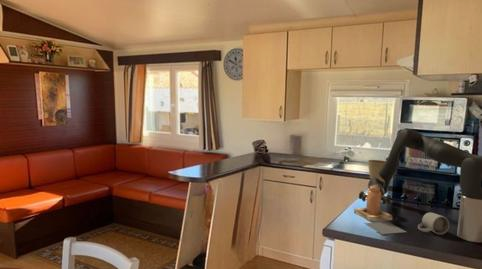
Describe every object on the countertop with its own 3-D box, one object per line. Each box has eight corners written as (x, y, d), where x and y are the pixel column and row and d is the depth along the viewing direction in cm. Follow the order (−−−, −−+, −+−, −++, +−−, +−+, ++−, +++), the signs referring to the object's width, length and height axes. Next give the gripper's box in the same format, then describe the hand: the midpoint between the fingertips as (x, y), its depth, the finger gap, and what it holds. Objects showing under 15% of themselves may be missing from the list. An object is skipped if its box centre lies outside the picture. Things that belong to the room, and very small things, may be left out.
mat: (387, 223, 151) (387, 221, 151) (406, 233, 140) (406, 231, 140) (364, 224, 148) (364, 223, 148) (381, 235, 137) (382, 233, 137)
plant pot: (384, 189, 211) (386, 164, 209) (362, 185, 222) (364, 161, 220) (394, 186, 221) (396, 162, 219) (372, 181, 232) (374, 159, 230)
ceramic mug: (435, 227, 148) (436, 210, 147) (449, 234, 140) (450, 216, 139) (413, 228, 147) (414, 210, 146) (425, 235, 139) (427, 217, 138)
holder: (375, 212, 166) (375, 207, 165) (392, 220, 154) (392, 215, 154) (353, 213, 163) (354, 208, 162) (369, 222, 151) (369, 217, 151)
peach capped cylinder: (366, 213, 162) (368, 184, 161) (379, 215, 160) (382, 186, 158) (364, 217, 156) (367, 187, 155) (378, 219, 153) (381, 189, 152)
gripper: (362, 183, 175) (358, 190, 160) (391, 187, 168) (390, 195, 154) (361, 198, 175) (357, 206, 161) (390, 202, 169) (389, 211, 155)
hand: (373, 200), depth 157 cm, fingers open, 8 cm apart
